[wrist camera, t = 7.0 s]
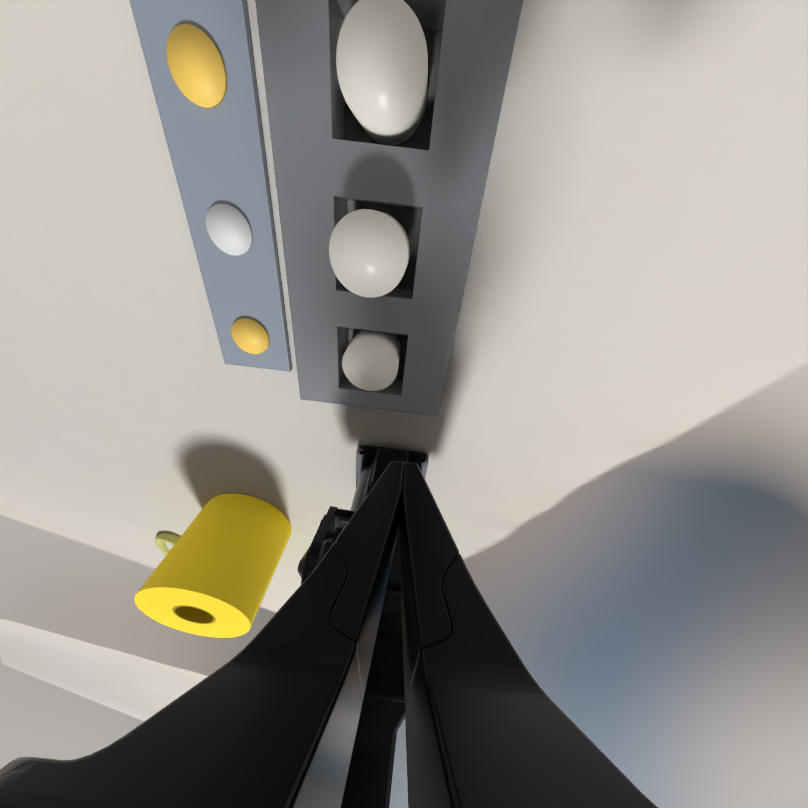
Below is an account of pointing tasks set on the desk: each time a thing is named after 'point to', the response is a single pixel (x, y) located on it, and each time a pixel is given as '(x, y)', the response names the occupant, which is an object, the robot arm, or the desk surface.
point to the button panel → (380, 187)
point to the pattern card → (220, 166)
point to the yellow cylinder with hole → (218, 568)
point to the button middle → (369, 252)
